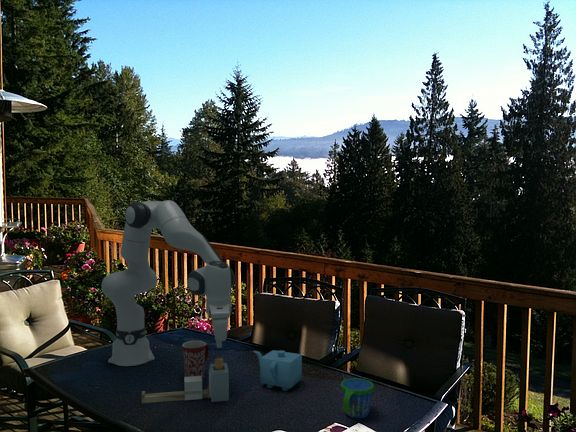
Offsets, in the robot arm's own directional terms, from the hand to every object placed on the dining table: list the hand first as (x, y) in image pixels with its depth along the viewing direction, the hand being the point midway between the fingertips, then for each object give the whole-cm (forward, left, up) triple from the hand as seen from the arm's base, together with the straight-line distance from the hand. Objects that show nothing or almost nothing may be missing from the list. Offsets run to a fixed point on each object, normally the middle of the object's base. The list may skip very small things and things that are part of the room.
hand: (219, 346), depth 186 cm
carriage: (0, -9, -18) cm, 20 cm away
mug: (-20, -7, -18) cm, 28 cm away
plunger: (0, 0, -10) cm, 10 cm away
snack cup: (+24, +43, -18) cm, 52 cm away
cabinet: (0, 0, -18) cm, 18 cm away
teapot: (-7, +21, -18) cm, 28 cm away
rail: (0, -15, -18) cm, 23 cm away
